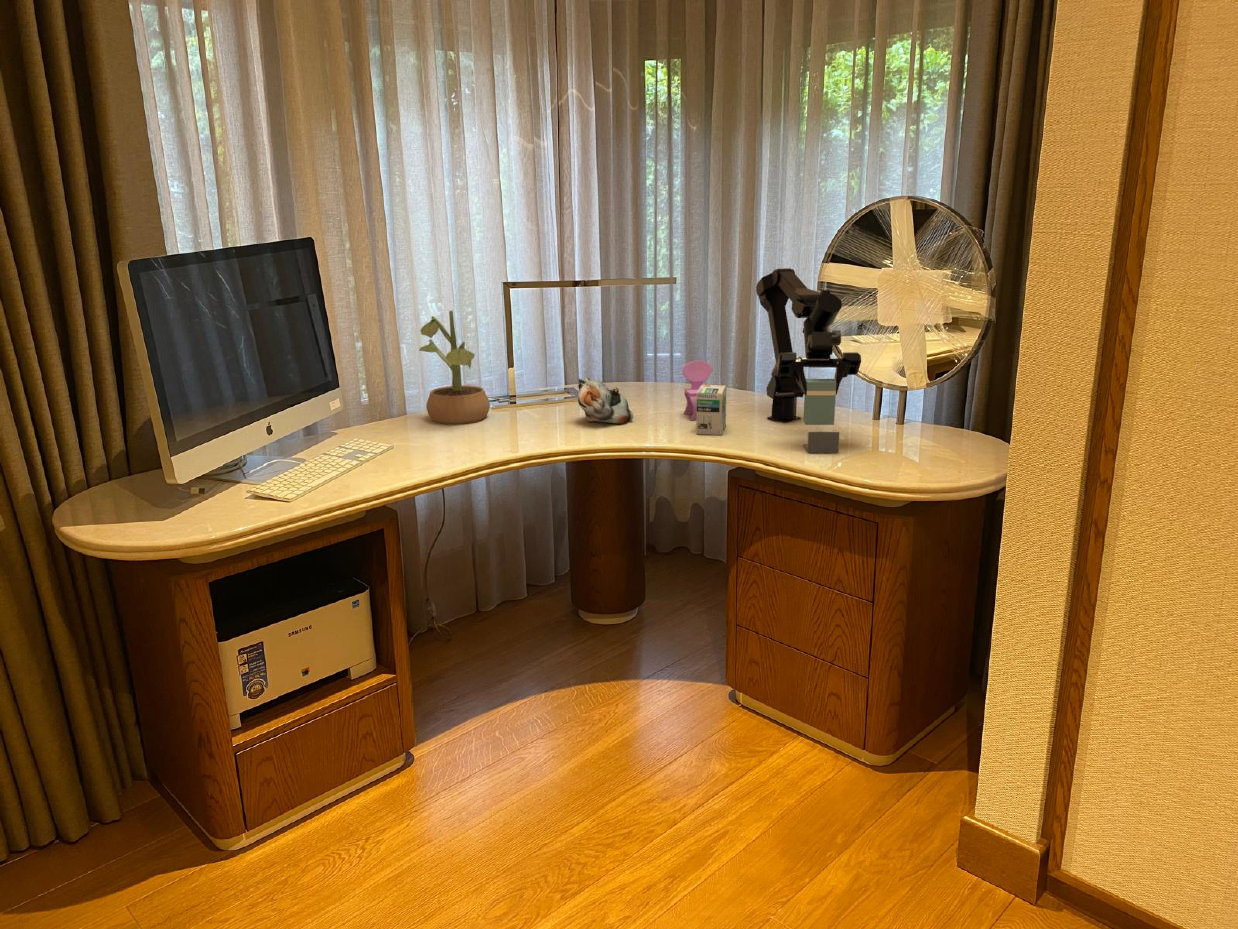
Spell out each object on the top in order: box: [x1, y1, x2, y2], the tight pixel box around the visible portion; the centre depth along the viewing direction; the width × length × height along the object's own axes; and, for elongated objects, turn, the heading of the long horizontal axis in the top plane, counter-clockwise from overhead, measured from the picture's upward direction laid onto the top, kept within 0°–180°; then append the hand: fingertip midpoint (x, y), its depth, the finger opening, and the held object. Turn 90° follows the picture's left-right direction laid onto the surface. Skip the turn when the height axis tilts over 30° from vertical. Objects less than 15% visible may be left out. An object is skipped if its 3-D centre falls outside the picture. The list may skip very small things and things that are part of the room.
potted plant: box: [418, 309, 491, 425], centre depth 244 cm, size 22×18×30 cm
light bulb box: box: [695, 384, 727, 436], centre depth 234 cm, size 11×7×11 cm, turn 168°
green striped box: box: [802, 378, 837, 426], centre depth 214 cm, size 4×6×10 cm, turn 86°
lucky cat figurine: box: [577, 377, 634, 425], centre depth 244 cm, size 15×12×14 cm
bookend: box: [802, 431, 840, 455], centre depth 216 cm, size 7×7×5 cm
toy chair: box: [681, 359, 713, 422], centre depth 247 cm, size 8×9×15 cm
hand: (820, 394), depth 212 cm, fingers closed on green striped box, 6 cm apart
